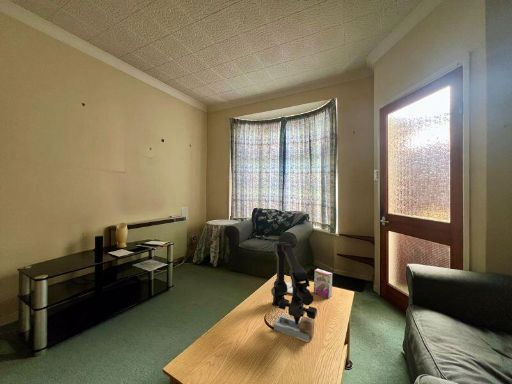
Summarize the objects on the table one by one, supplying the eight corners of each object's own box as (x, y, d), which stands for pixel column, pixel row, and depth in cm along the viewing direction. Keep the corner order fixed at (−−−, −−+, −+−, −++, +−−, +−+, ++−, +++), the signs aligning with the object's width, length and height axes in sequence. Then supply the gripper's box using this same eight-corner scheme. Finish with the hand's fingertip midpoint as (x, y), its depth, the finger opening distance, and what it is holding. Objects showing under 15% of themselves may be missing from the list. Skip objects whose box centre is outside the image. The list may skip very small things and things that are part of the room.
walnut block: (299, 335, 107) (299, 321, 107) (302, 329, 111) (302, 316, 111) (311, 339, 104) (312, 325, 104) (313, 333, 108) (314, 319, 108)
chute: (274, 329, 111) (274, 324, 111) (280, 320, 119) (280, 315, 119) (308, 342, 103) (308, 336, 103) (312, 331, 111) (312, 326, 110)
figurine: (301, 298, 142) (303, 273, 142) (277, 290, 152) (278, 267, 152) (311, 288, 158) (312, 266, 159) (289, 282, 168) (290, 261, 169)
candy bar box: (313, 293, 150) (314, 270, 149) (316, 290, 153) (317, 268, 153) (328, 299, 142) (329, 275, 142) (331, 296, 146) (332, 272, 145)
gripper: (274, 296, 107) (274, 327, 107) (312, 307, 98) (311, 341, 98) (283, 287, 116) (282, 315, 117) (317, 296, 108) (316, 327, 108)
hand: (297, 324), depth 110 cm, fingers closed
